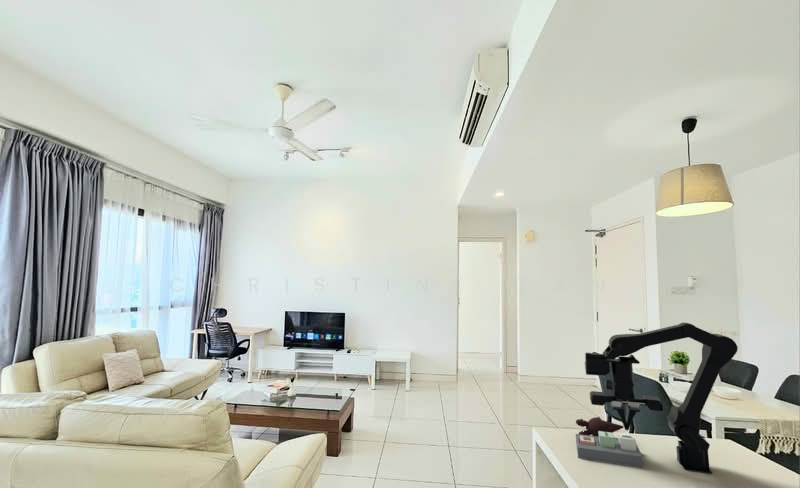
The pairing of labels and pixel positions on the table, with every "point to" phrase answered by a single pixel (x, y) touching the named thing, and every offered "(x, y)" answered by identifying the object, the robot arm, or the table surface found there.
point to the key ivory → (627, 442)
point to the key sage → (606, 439)
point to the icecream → (597, 426)
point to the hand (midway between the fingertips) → (626, 429)
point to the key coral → (587, 440)
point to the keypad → (608, 453)
